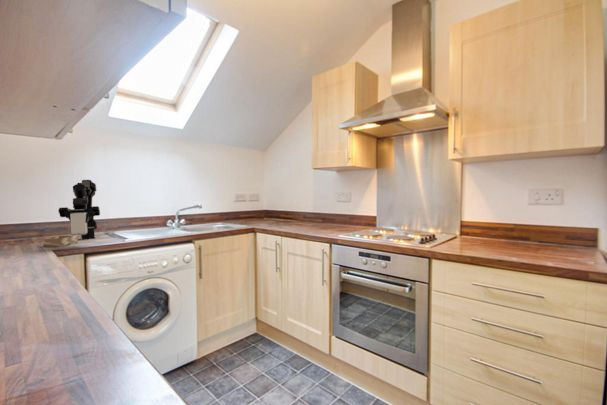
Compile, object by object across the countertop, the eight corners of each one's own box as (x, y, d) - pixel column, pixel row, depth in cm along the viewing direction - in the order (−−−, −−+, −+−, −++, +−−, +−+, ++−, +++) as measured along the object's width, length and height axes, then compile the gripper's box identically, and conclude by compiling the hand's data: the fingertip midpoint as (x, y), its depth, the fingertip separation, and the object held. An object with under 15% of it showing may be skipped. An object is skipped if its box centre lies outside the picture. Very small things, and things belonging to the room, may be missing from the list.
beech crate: (59, 243, 176) (59, 235, 176) (77, 242, 176) (77, 235, 176) (43, 246, 165) (42, 238, 165) (62, 246, 165) (62, 238, 165)
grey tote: (73, 233, 168) (72, 213, 167) (87, 232, 171) (86, 212, 170) (71, 235, 162) (70, 213, 161) (85, 234, 165) (84, 213, 165)
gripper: (58, 193, 164) (54, 214, 155) (98, 192, 173) (96, 212, 164) (62, 206, 172) (58, 227, 162) (100, 205, 180) (99, 225, 171)
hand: (78, 222), depth 165 cm, fingers closed on grey tote, 6 cm apart
